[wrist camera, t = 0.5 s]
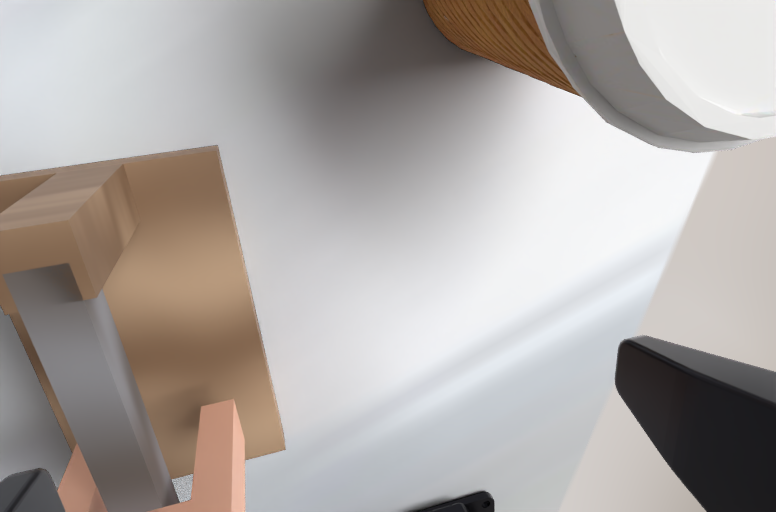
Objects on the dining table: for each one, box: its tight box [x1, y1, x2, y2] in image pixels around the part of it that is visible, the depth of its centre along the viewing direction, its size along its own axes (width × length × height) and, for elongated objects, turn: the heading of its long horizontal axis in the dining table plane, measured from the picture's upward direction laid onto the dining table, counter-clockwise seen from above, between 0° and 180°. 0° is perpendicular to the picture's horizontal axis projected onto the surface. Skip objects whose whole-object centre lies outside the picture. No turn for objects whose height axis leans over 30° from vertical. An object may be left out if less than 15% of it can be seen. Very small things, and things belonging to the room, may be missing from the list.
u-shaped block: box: [57, 399, 245, 512], centre depth 17 cm, size 2×5×6 cm, turn 95°
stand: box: [0, 145, 286, 512], centre depth 17 cm, size 14×8×7 cm, turn 6°
